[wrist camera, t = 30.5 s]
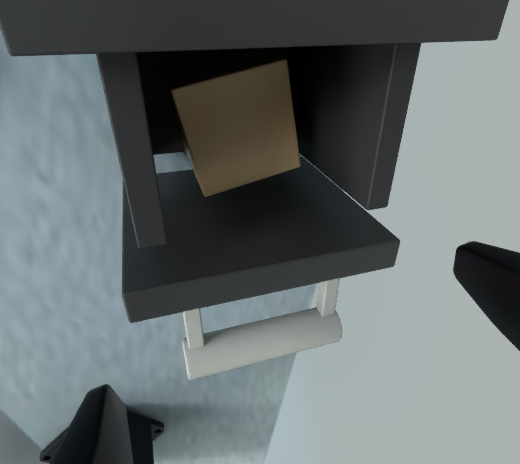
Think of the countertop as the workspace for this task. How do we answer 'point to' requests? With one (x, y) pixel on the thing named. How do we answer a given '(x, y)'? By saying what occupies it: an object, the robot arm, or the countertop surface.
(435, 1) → the dark grey drawer box
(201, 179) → the block
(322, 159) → the dark grey drawer
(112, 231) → the countertop surface
